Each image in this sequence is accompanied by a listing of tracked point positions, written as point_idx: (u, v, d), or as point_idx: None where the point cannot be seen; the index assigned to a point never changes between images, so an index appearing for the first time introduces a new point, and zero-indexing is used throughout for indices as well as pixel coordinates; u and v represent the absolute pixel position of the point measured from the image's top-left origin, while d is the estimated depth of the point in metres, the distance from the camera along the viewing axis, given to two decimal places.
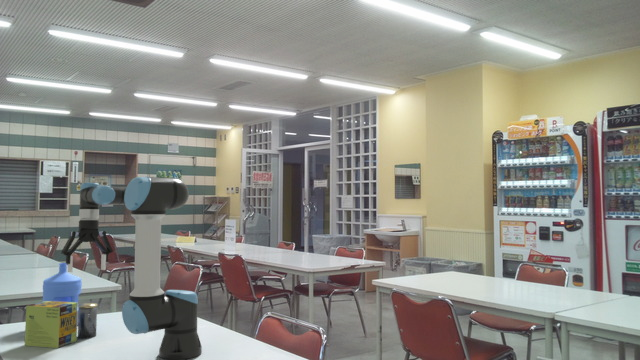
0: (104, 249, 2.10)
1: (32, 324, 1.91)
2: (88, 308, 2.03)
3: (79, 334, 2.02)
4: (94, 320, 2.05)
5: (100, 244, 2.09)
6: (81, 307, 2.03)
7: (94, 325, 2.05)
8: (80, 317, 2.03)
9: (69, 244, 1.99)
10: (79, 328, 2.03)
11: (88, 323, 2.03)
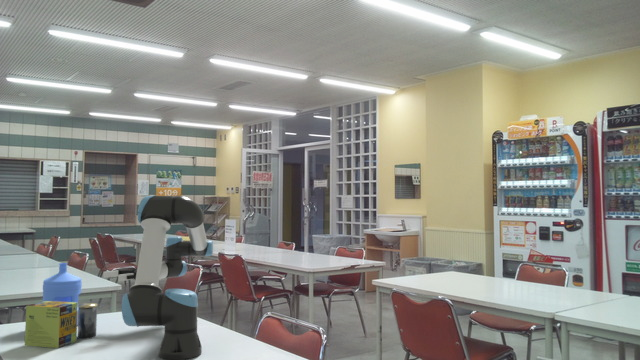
0: None
1: (32, 324, 1.91)
2: (88, 308, 2.03)
3: (79, 334, 2.02)
4: (94, 320, 2.05)
5: None
6: (81, 307, 2.03)
7: (94, 325, 2.05)
8: (80, 317, 2.03)
9: (126, 269, 2.28)
10: (79, 328, 2.03)
11: (88, 323, 2.03)
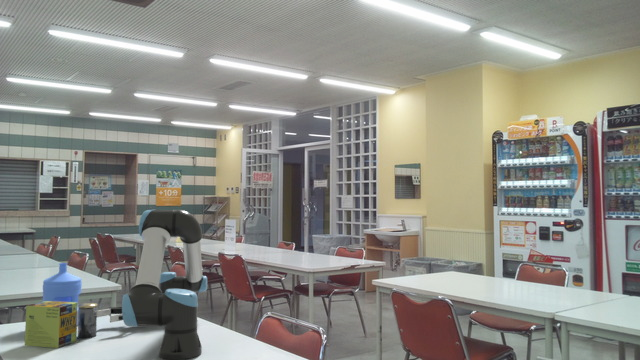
0: None
1: (32, 324, 1.91)
2: (88, 308, 2.03)
3: (79, 334, 2.02)
4: (94, 320, 2.05)
5: None
6: (81, 307, 2.03)
7: (94, 325, 2.05)
8: (80, 317, 2.03)
9: (119, 307, 2.25)
10: (79, 328, 2.03)
11: (88, 323, 2.03)
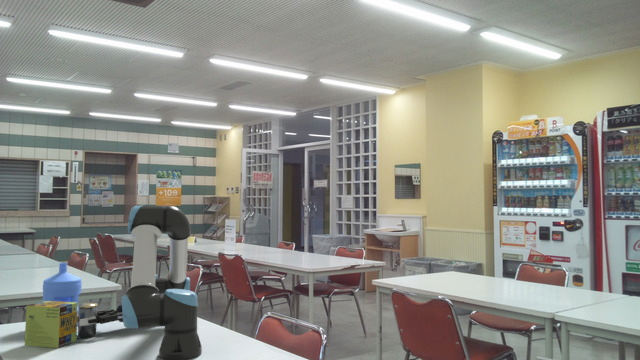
0: (101, 316, 2.06)
1: (32, 324, 1.91)
2: (88, 308, 2.03)
3: (79, 334, 2.02)
4: None
5: (106, 314, 2.09)
6: (81, 307, 2.03)
7: (94, 325, 2.05)
8: (80, 317, 2.03)
9: None
10: (79, 328, 2.03)
11: None
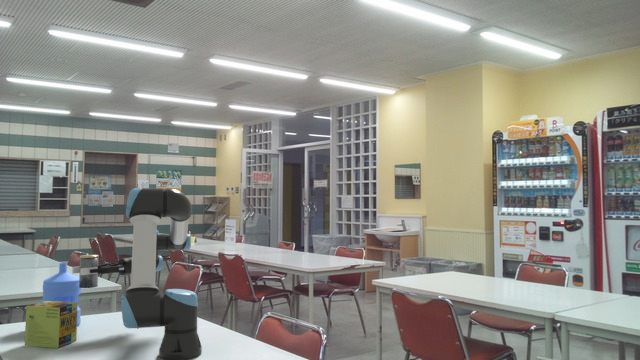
0: None
1: (32, 324, 1.91)
2: (89, 258, 2.04)
3: (81, 284, 2.04)
4: None
5: (107, 266, 2.10)
6: (83, 257, 2.04)
7: (95, 275, 2.06)
8: (82, 267, 2.04)
9: None
10: (81, 278, 2.04)
11: None
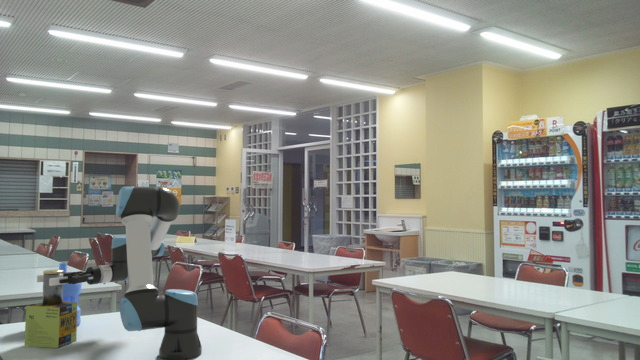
0: (72, 276, 1.96)
1: (32, 324, 1.91)
2: (53, 274, 1.93)
3: (44, 301, 1.93)
4: (60, 287, 1.95)
5: (77, 275, 1.99)
6: (46, 273, 1.93)
7: (60, 292, 1.95)
8: (45, 283, 1.93)
9: None
10: (44, 295, 1.93)
11: (54, 289, 1.93)
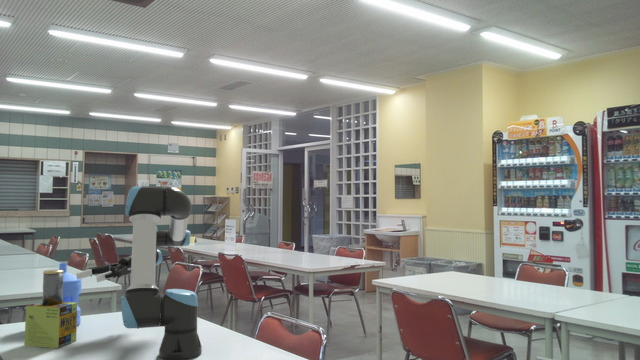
0: (114, 270, 2.07)
1: (32, 324, 1.91)
2: (53, 274, 1.93)
3: (44, 301, 1.93)
4: (60, 287, 1.95)
5: (116, 268, 2.09)
6: (46, 273, 1.93)
7: (60, 292, 1.95)
8: (45, 283, 1.93)
9: (99, 266, 2.16)
10: (44, 295, 1.93)
11: (54, 289, 1.93)
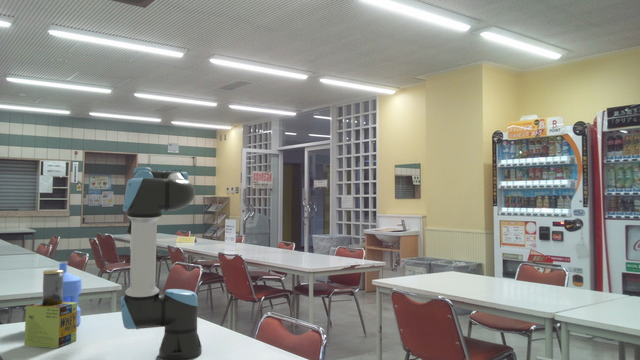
0: None
1: (32, 324, 1.91)
2: (53, 274, 1.93)
3: (44, 301, 1.93)
4: (60, 287, 1.95)
5: None
6: (46, 273, 1.93)
7: (60, 292, 1.95)
8: (45, 283, 1.93)
9: (130, 224, 2.23)
10: (44, 295, 1.93)
11: (54, 289, 1.93)
